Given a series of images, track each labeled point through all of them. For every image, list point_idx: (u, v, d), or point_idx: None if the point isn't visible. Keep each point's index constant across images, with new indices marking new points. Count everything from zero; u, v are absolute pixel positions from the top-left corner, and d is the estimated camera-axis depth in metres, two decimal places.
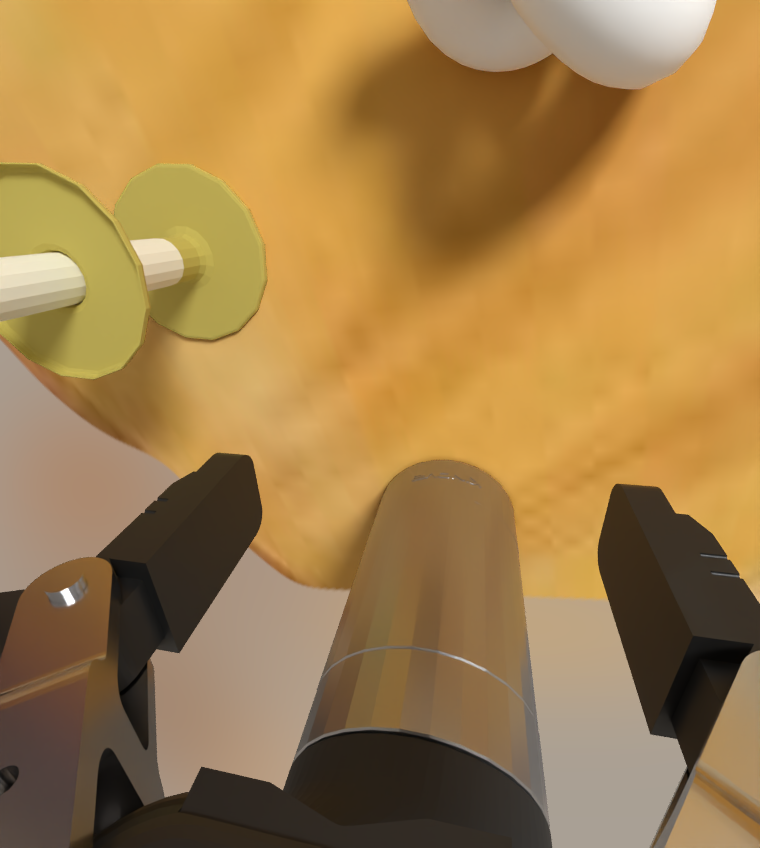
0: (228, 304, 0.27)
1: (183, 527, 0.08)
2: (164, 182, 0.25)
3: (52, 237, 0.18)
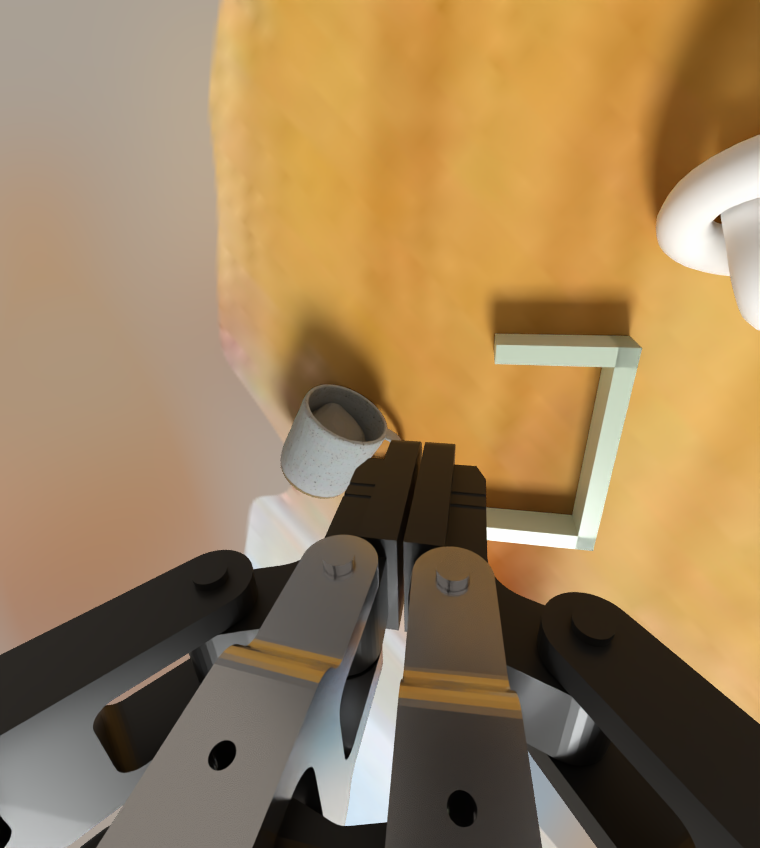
0: None
1: (405, 507, 0.08)
2: None
3: None
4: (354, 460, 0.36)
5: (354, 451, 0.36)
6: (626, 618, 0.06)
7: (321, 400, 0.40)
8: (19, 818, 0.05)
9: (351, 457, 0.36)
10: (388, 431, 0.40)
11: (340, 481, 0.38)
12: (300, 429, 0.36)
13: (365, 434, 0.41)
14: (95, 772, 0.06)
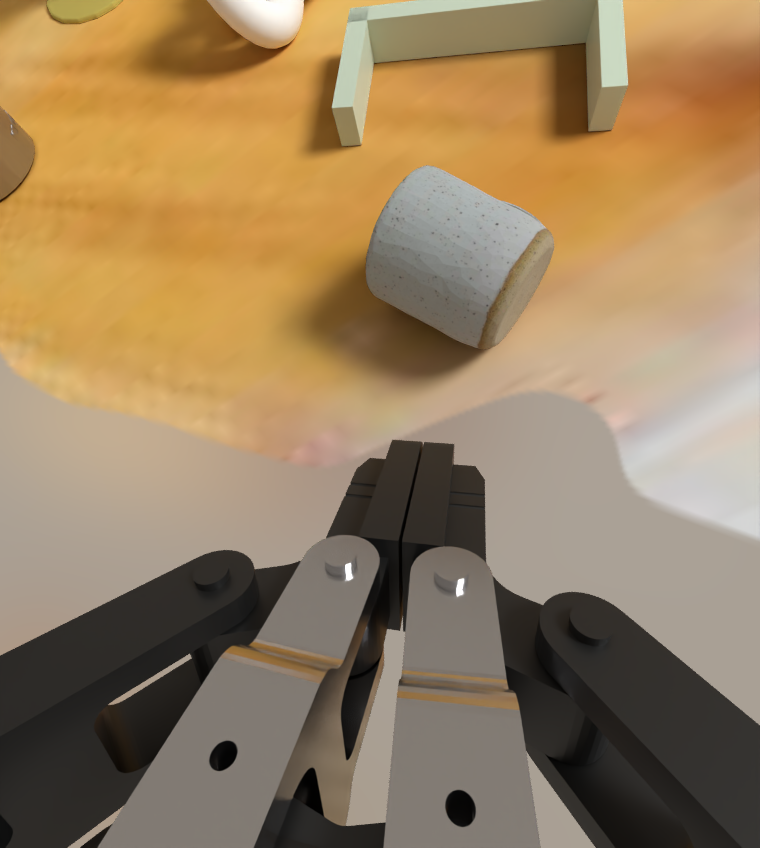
0: (74, 8, 0.44)
1: (406, 507, 0.08)
2: None
3: None
4: (457, 179, 0.23)
5: (435, 171, 0.23)
6: (624, 618, 0.06)
7: None
8: (20, 818, 0.05)
9: (447, 177, 0.23)
10: None
11: (502, 203, 0.22)
12: (401, 253, 0.22)
13: None
14: (96, 772, 0.06)
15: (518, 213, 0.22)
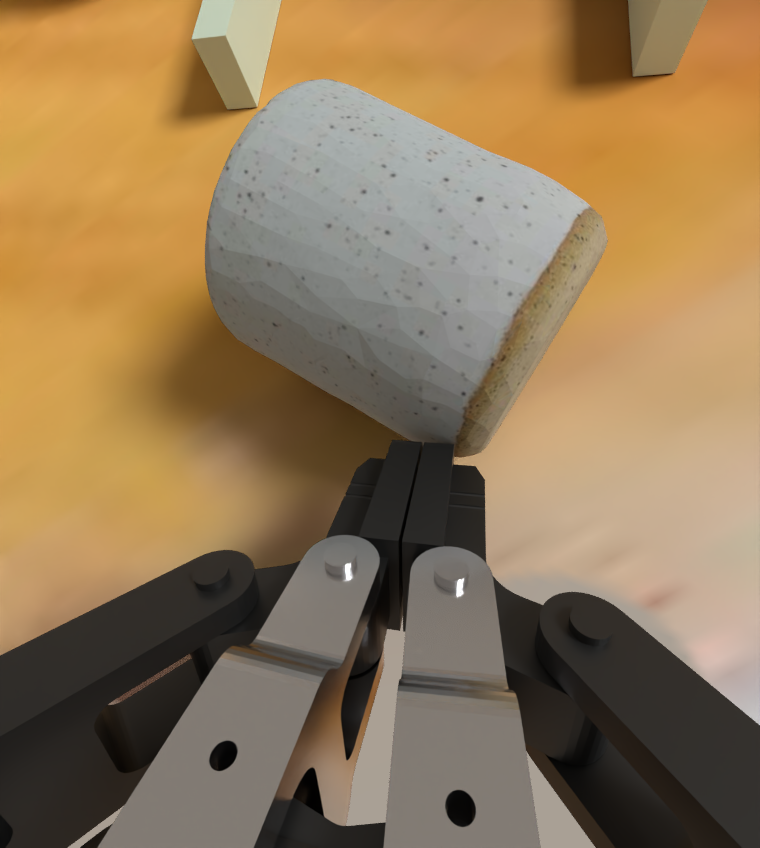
0: None
1: (406, 507, 0.08)
2: None
3: None
4: (390, 106, 0.11)
5: (340, 87, 0.10)
6: (624, 618, 0.06)
7: None
8: (20, 818, 0.05)
9: (367, 99, 0.10)
10: None
11: None
12: (266, 274, 0.10)
13: None
14: (96, 772, 0.06)
15: (529, 173, 0.09)
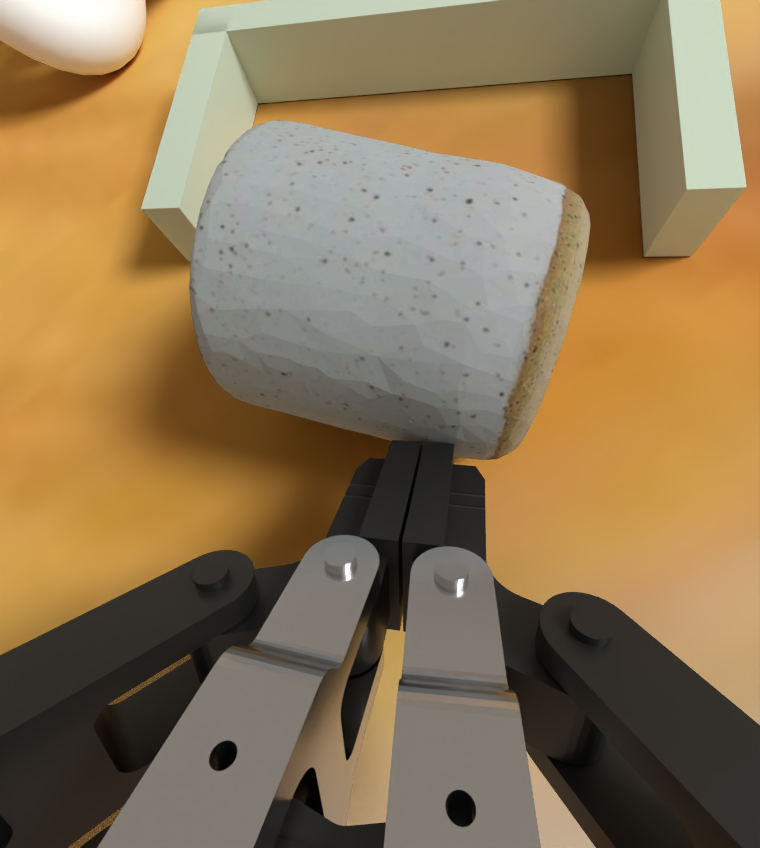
0: None
1: (406, 508, 0.08)
2: None
3: None
4: (344, 133, 0.10)
5: (291, 125, 0.10)
6: (624, 618, 0.06)
7: None
8: (20, 818, 0.05)
9: (322, 131, 0.10)
10: None
11: None
12: (266, 325, 0.09)
13: None
14: (96, 772, 0.06)
15: (502, 167, 0.09)
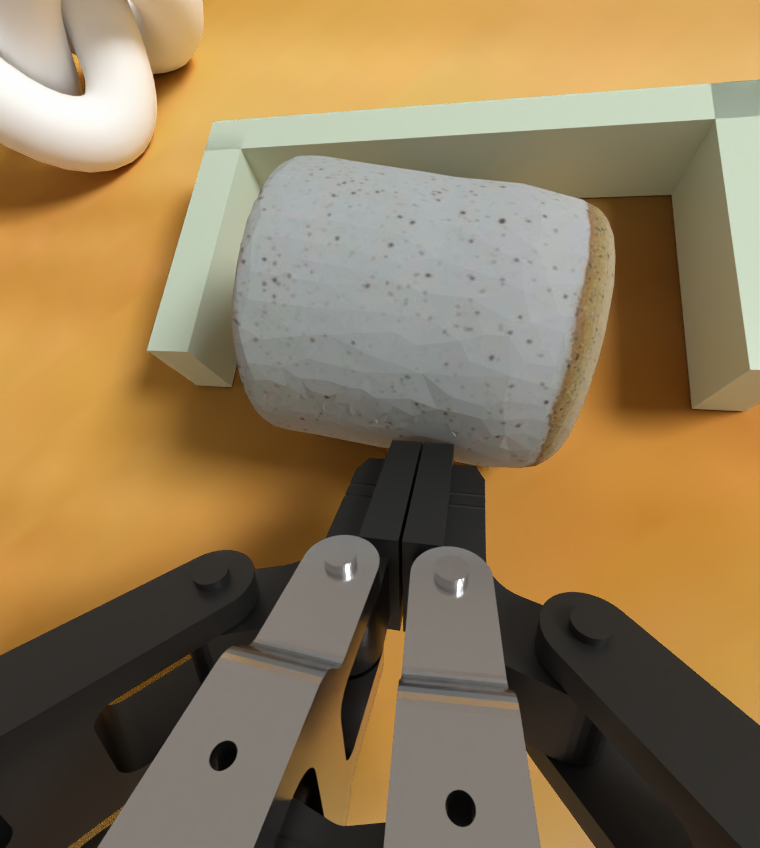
0: None
1: (406, 508, 0.08)
2: None
3: None
4: (368, 163, 0.11)
5: (318, 159, 0.11)
6: (624, 618, 0.06)
7: None
8: (20, 818, 0.05)
9: (348, 163, 0.11)
10: None
11: (480, 179, 0.10)
12: (311, 351, 0.10)
13: None
14: (96, 772, 0.06)
15: (526, 187, 0.10)
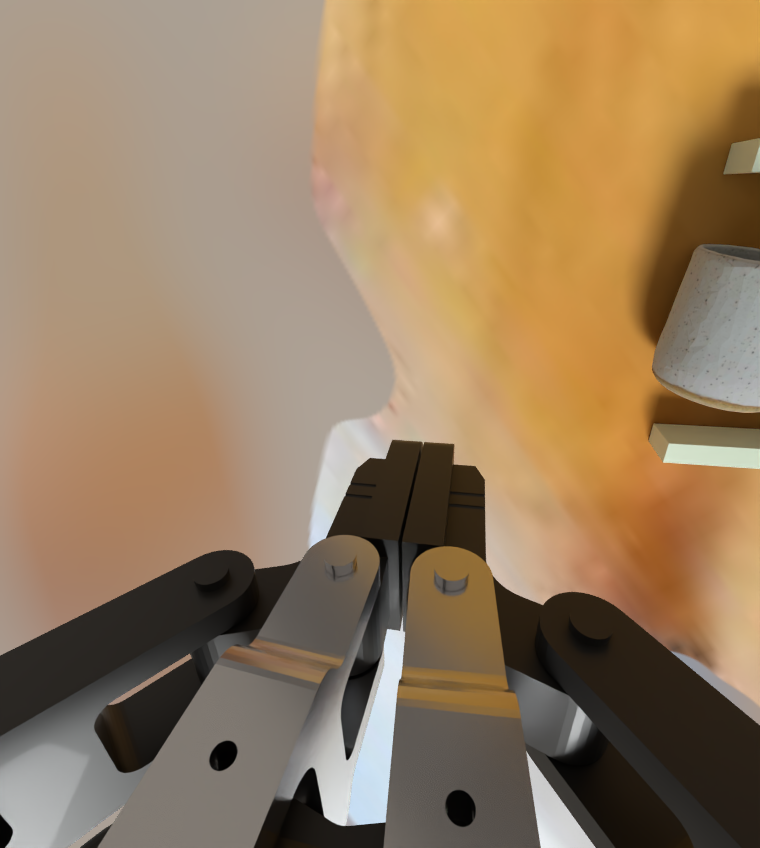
0: None
1: (406, 507, 0.08)
2: None
3: None
4: None
5: None
6: (624, 618, 0.06)
7: None
8: (20, 818, 0.05)
9: None
10: None
11: None
12: (731, 300, 0.23)
13: None
14: (96, 772, 0.06)
15: None
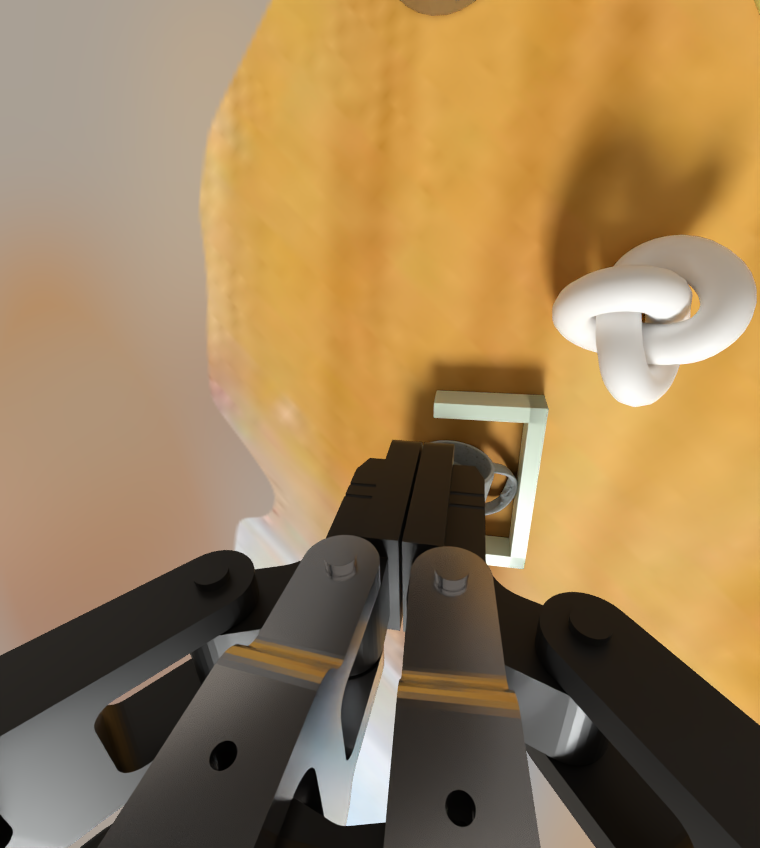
0: None
1: (407, 508, 0.08)
2: None
3: None
4: None
5: None
6: (624, 618, 0.06)
7: None
8: (20, 818, 0.05)
9: None
10: (494, 465, 0.44)
11: None
12: None
13: None
14: (96, 772, 0.06)
15: None
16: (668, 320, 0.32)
